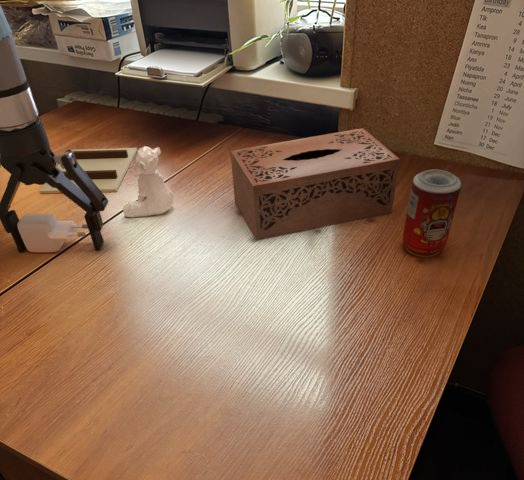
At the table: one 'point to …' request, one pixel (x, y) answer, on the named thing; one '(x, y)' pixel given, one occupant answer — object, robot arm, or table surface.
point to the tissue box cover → (313, 182)
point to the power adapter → (46, 232)
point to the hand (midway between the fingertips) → (61, 246)
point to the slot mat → (100, 167)
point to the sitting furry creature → (149, 187)
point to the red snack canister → (430, 211)
